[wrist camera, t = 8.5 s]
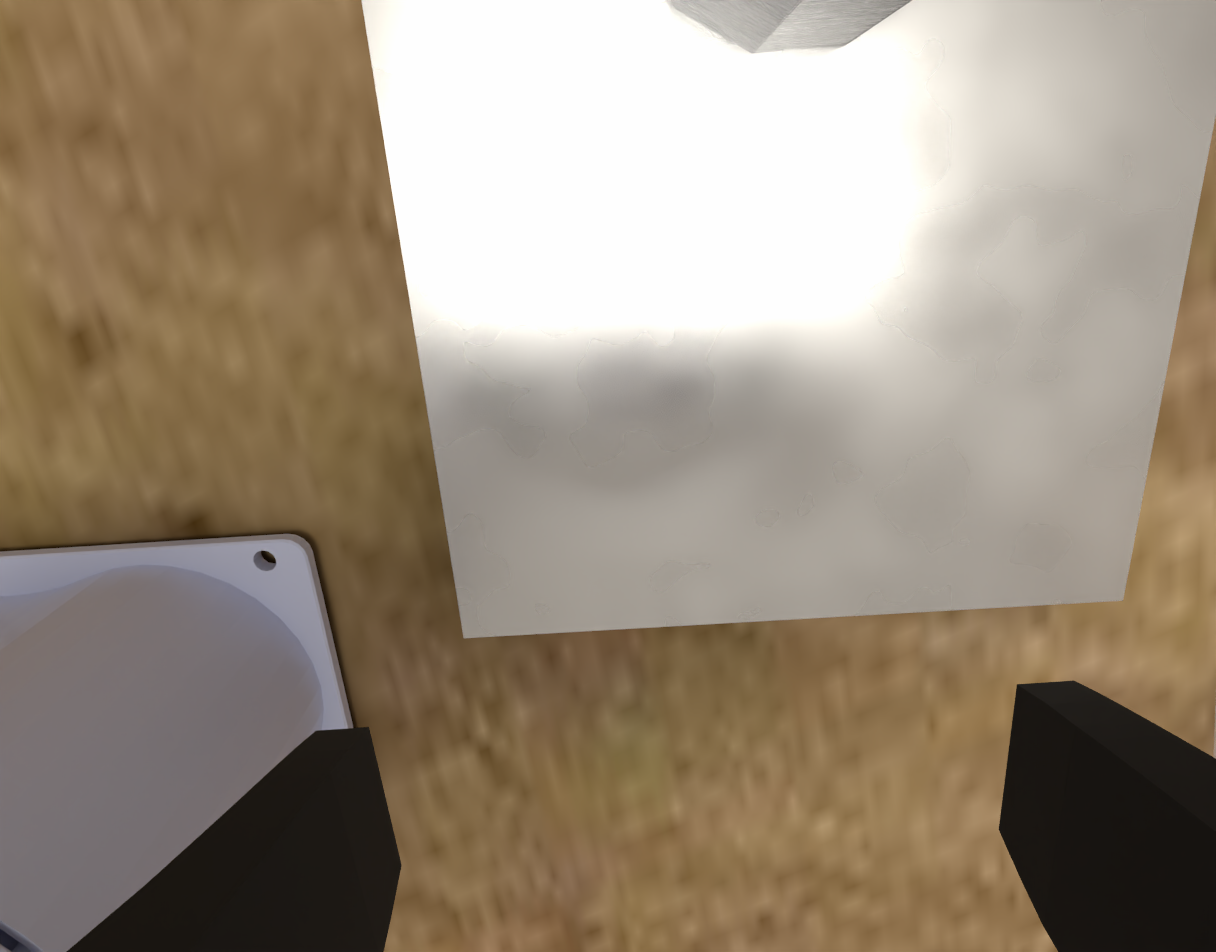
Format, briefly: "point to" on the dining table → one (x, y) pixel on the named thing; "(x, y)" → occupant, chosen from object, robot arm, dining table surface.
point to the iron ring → (788, 21)
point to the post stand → (791, 300)
